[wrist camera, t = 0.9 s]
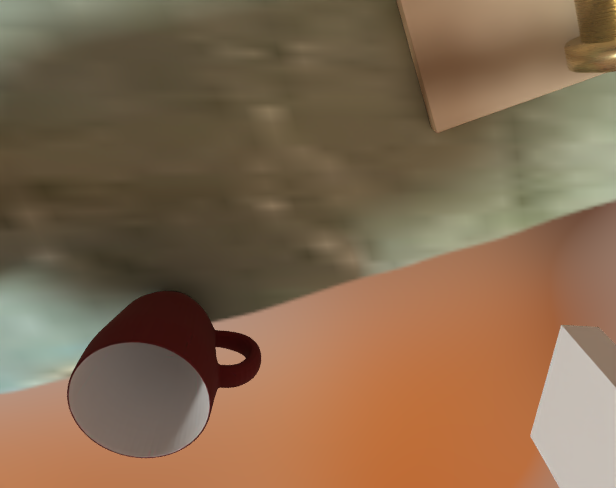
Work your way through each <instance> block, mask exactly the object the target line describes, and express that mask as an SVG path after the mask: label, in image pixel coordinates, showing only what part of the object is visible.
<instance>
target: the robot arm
mask: <svg viewBox="0 0 616 488" xmlns="http://www.w3.org/2000/svg"><path fill="white" fill-rule="evenodd" d="M530 436H531V438H532V440H533V441H534V443H535V445H536V447H537V448H538V450H539V452H540V453H541V455H542V457H543V459H544V461H545V463H546V464H547V466H548V468H549V470H550V471H551V473H552V475H553V477H554V478H555V480H556V482H557V484H558V486H559V487H560V488H616V344H615V343H614V342H613V341H612V340H611V339H610V338H609V337H608V336H607V335H606V334H605V333H604V332H603V331H602V330H601V329H600V328H599V327H587V326H570V325H561V328H560V332H559V335H558V339H557V342H556V346H555V350H554V353H553V357H552V360H551V364H550V367H549V371H548V375H547V378H546V382H545V385H544V389H543V393H542V396H541V400H540V404H539V407H538V410H537V414H536V418H535V421H534V425H533V428H532V432H531V435H530Z"/></svg>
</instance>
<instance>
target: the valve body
mask: <svg viewBox="0 0 616 488" xmlns="http://www.w3.org/2000/svg"><path fill="white" fill-rule="evenodd" d="M574 4H575V10H576V15H577V21H578V27H579V33H580V36H579V37H577V38H574V39H572V40H570V41H569V42H567V43H566V44H565V46H564V50H565V56H566V61H567V67H568V70H570V71H572V72H577V73H592V72H593V73H604V72H613V71H616V0H574Z"/></svg>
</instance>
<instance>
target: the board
mask: <svg viewBox="0 0 616 488" xmlns="http://www.w3.org/2000/svg"><path fill="white" fill-rule="evenodd" d="M396 1H397V5H398V9H399V12H400V16H401V19H402V23H403V27H404V30H405V34H406V37H407V41H408V45H409V48H410V52H411V55H412V59H413V63H414V66H415V70H416V74H417V77H418V81H419V84H420V88H421V92H422V95H423V99H424V102H425V106H426V110H427V113H428V117H429V120H430V124H431V128H432V129H433V130H434V131H435V132H437V133H439V132H441V131H444V130H447V129H450V128H453V127H455V126H458V125H461V124H464V123H467V122H469V121H472V120H475V119H478V118H481V117H484V116H486V115H489V114H492V113H495V112H498V111H500V110H503V109H506V108H509V107H512V106H514V105H517V104H520V103H523V102H526V101H528V100H531V99H534V98H537V97H540V96H542V95H545V94H548V93H551V92H554V91H556V90H559V89H562V88H565V87H568V86H570V85H573V84H576V83H579V82H582V81H585V80H587V79H590V78H593V77H596V76H599V75H601V74H604V73H607V72H604V73H593V72H592V73H577V72H572V71H570V70H568V67H567V61H566V56H565V50H564V46H565V44H566V43H567V42H569V41H570V40H572V39H574V38H577V37H579V36H580V33H579V27H578V21H577V15H576V10H575V4H574V0H396Z"/></svg>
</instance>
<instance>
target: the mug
mask: <svg viewBox="0 0 616 488" xmlns="http://www.w3.org/2000/svg"><path fill="white" fill-rule="evenodd" d="M215 347H222V348H226V349H230V350H234V351H236V352H238V353H240V354H242V355H244V356H245V357H246V359H245V360H244V361H243V362H241V363H239V364H235V365H220V364H218V362H217V358H216V349H215ZM260 364H261V353H260V349H259V347H258V345H257V343H256V342H255V341H254V340H252V339H251V338H250V337H248V336H246V335H243V334H240V333H236V332H229V331H218V330H215V329H214V327H213V325H212V323H211V321H210V319H209V317H208V316H207V314H206V312H205V311H204V310H203V308H202V307H201V306H200V305H199V304H198V303H197V302H196V301H194V300H193V299H192V298H191V297H189V296H187V295H185V294H183V293H180V292H175V291H160V292H154V293H150V294H147V295H144V296H142V297H140V298H138V299H136V300H135V301H133V302H132V303H131V304H129V305H128V306H127V307H126V308H125V309H124V310H123V311H121V312H120V313H119V314H118V315H117V316H116V317H115V318H114V319H113V320H112V321H111V322H109V323H108V324H107V325H106V326H105V327H104V328H103V329H102V330H101V331H100V332H99V333H98V334H97V335H96V336H95V337H94V339H93V340H92V341H91V342H90V344H89V345H88V346H87V348H86V349H85V351H84V353H83V354H82V356H81V358H80V359H79V361H78V363H77V365H76V367H75V369H74V370H73V372H72V375H71V377H70V380H69V384H68V390H67V399H68V405H69V409H70V411H71V414H72V416H73V418H74V420H75V422H76V423H77V425H78V426H79V428H80V429H81V430H82V431H83V432H84V433H85V434H86V435H87V436H88V437H89V438H90V439H91V440H93V441H94V442H95V443H97V444H98V445H100V446H102V447H104V448H105V449H108V450H110V451H112V452H115V453H118V454H121V455H125V456H129V457H136V458H155V457H162V456H166V455H169V454H172V453H175V452H177V451H180V450H182V449H183V448H185V447H187V446H188V445H190V444H191V443H192V442H193V441H195V440H196V439H197V438H198V437H199V435H200V434H201V433H202V431H203V430H204V428H205V426H206V424H207V422H208V420H209V417H210V413H211V409H212V406H213V402H214V398H215V395H216V392H217V389H218V388H220V387H221V388H229V387H230V388H231V387H237V386H240V385H243V384H245V383H247V382H248V381H250V380H251V379H252V378H254V376H255V375H256V374H257V372H258V370H259V368H260Z"/></svg>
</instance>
